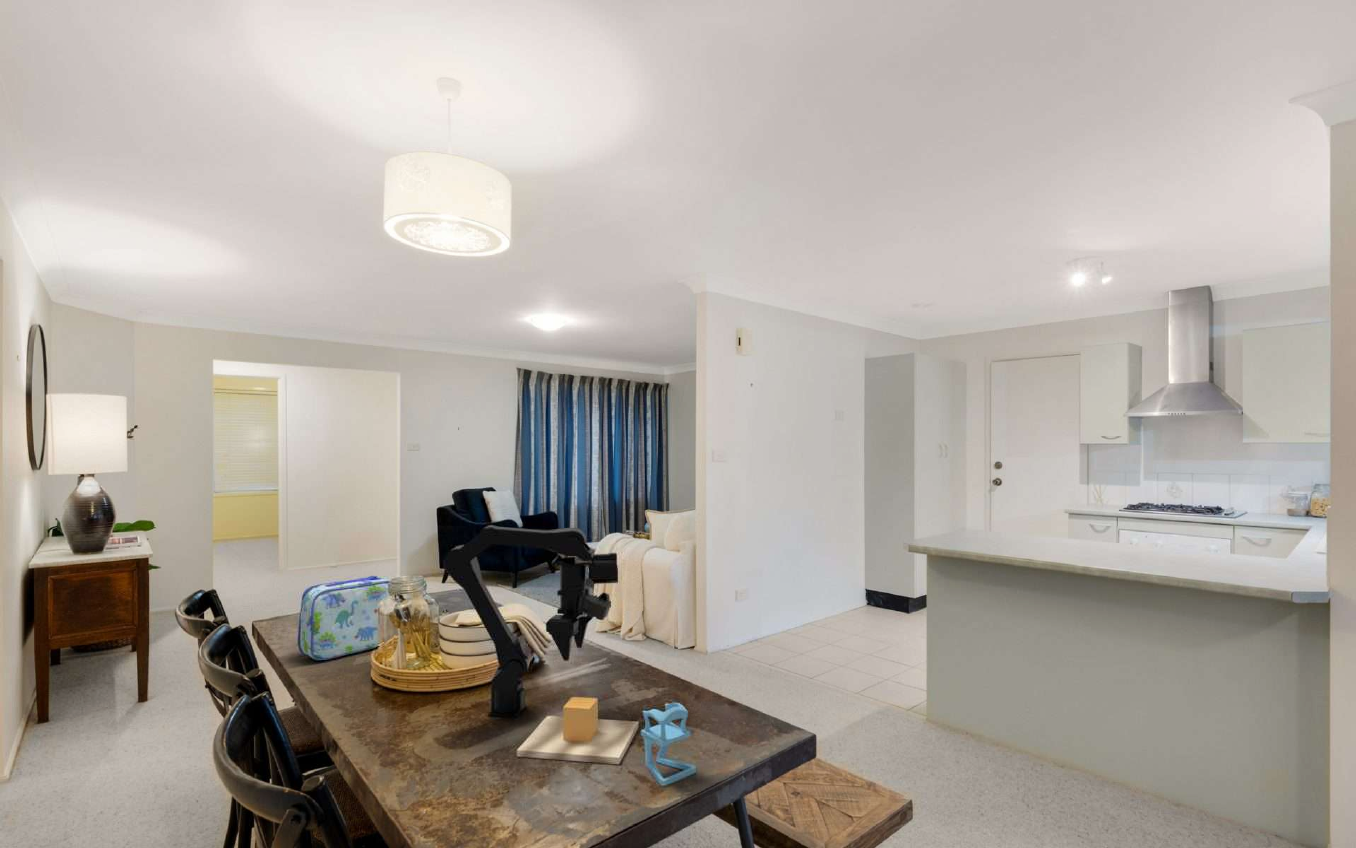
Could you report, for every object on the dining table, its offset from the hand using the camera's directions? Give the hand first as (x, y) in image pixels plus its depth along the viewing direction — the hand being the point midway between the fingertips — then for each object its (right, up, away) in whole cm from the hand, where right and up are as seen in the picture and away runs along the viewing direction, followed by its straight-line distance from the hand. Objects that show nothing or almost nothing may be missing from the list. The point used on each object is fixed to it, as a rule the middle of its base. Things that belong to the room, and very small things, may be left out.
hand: (573, 653), depth 148 cm
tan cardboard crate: (+4, -10, -17) cm, 21 cm away
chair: (+22, -11, -29) cm, 38 cm away
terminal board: (+4, -11, -17) cm, 21 cm away
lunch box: (-72, -14, +42) cm, 84 cm away
